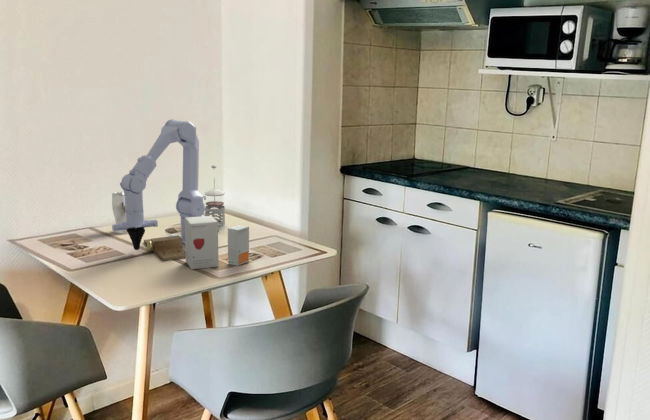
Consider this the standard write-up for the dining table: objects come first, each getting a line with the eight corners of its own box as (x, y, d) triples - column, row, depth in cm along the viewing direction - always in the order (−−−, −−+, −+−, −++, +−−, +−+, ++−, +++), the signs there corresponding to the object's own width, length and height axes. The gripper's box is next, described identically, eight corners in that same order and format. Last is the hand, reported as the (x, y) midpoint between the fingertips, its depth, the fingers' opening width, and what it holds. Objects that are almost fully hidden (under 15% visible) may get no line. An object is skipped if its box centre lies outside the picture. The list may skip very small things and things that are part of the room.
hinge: (170, 239, 218) (169, 228, 217) (191, 256, 198) (191, 245, 197) (143, 242, 213) (143, 231, 212) (163, 260, 193) (162, 249, 193)
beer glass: (136, 231, 228) (134, 193, 224) (122, 235, 222) (119, 196, 219) (124, 228, 231) (122, 190, 228) (109, 232, 226) (107, 193, 222)
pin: (176, 246, 209) (176, 236, 209) (180, 248, 206) (179, 238, 206) (147, 250, 204) (146, 239, 203) (150, 252, 201) (149, 242, 200)
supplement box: (190, 270, 185) (189, 223, 182) (185, 261, 193) (183, 217, 190) (219, 267, 189) (218, 221, 185) (212, 258, 197) (211, 215, 193)
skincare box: (237, 266, 190) (237, 230, 187) (227, 263, 192) (227, 228, 189) (249, 261, 195) (249, 226, 192) (239, 259, 197) (239, 224, 194)
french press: (225, 230, 232) (224, 167, 226) (195, 229, 232) (193, 166, 227) (229, 224, 242) (228, 163, 236) (201, 223, 242) (199, 162, 236)
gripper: (114, 214, 190) (117, 255, 193) (159, 210, 198) (161, 249, 201) (109, 210, 196) (112, 249, 199) (153, 206, 203) (155, 244, 207)
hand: (136, 249), depth 200 cm, fingers closed
